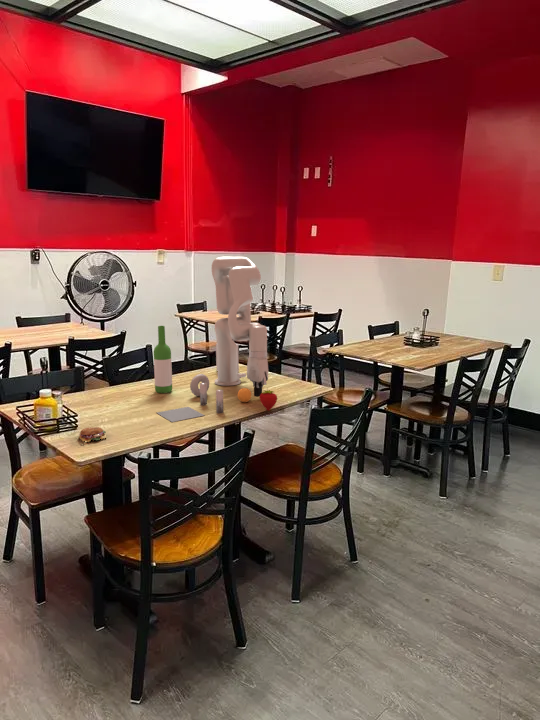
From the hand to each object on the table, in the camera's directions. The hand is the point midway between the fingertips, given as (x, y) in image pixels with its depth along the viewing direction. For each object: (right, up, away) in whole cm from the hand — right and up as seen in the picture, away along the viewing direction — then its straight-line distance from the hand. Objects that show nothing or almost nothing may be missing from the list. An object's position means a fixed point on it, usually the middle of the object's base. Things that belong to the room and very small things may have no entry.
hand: (258, 395), depth 230 cm
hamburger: (-56, -12, -48) cm, 75 cm away
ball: (-6, +1, -4) cm, 7 cm away
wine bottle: (-43, +1, +12) cm, 45 cm away
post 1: (-23, -3, -7) cm, 24 cm away
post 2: (-15, -5, -18) cm, 24 cm away
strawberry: (+5, -5, -16) cm, 17 cm away
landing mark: (-30, -6, -21) cm, 37 cm away
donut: (-26, -1, +5) cm, 26 cm away
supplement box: (-17, +9, +51) cm, 55 cm away
